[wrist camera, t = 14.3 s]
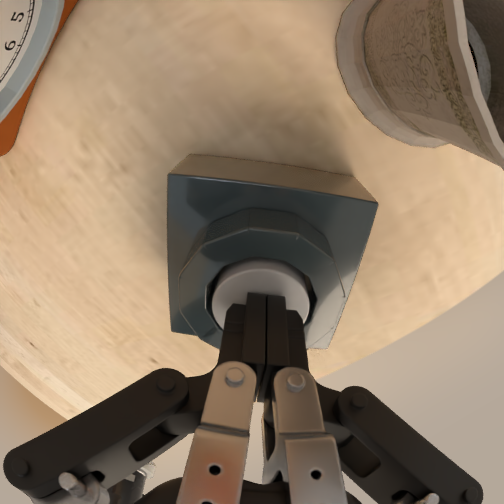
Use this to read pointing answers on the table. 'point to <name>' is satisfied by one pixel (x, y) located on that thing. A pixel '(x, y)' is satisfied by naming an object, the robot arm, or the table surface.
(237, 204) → the push button base
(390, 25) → the mug
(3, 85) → the alarm clock
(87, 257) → the table surface
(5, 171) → the table surface
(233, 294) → the grey push button
